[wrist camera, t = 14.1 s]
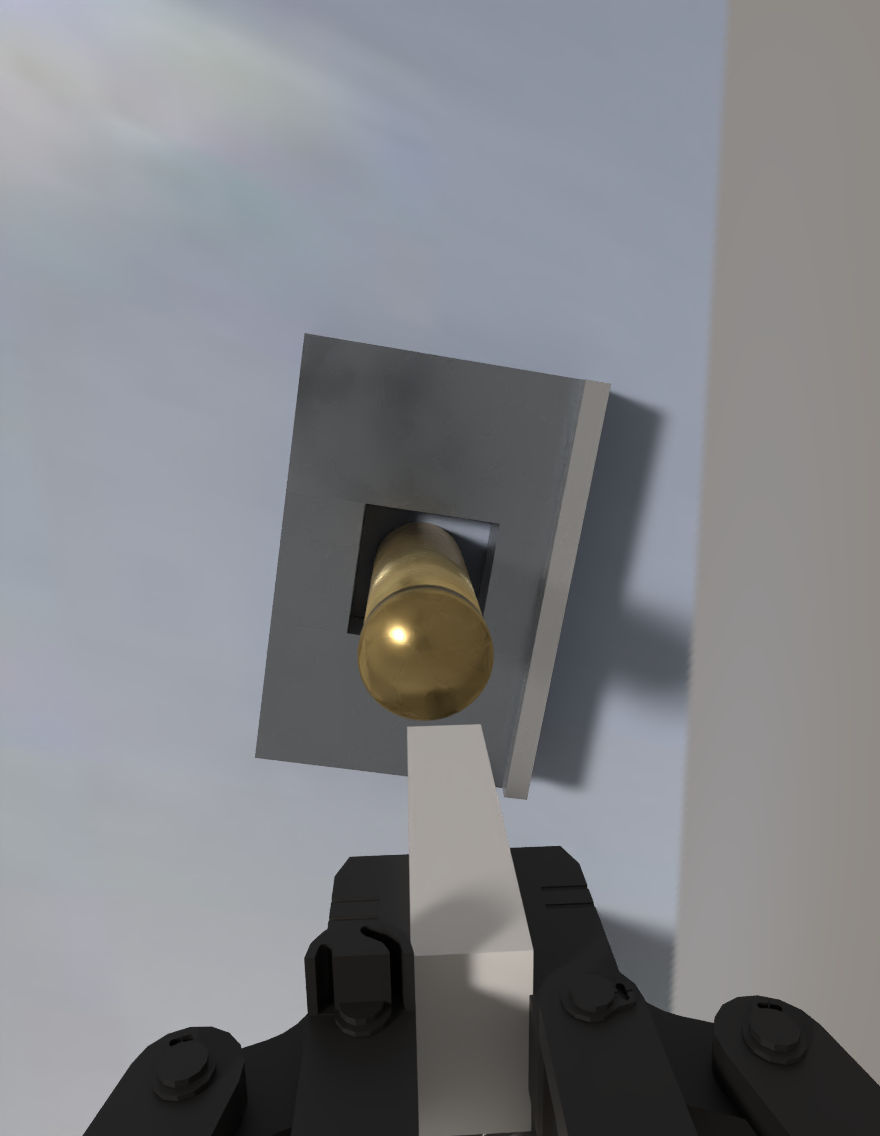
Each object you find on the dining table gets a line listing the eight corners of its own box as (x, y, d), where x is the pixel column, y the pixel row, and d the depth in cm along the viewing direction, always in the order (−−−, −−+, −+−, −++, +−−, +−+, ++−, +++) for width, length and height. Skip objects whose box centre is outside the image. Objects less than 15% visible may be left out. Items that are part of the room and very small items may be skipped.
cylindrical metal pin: (379, 514, 35) (367, 582, 23) (471, 528, 35) (505, 601, 23) (367, 603, 35) (348, 711, 24) (456, 616, 36) (481, 728, 24)
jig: (311, 336, 33) (302, 331, 30) (591, 383, 34) (611, 383, 30) (264, 732, 37) (251, 766, 33) (516, 764, 38) (526, 799, 34)
